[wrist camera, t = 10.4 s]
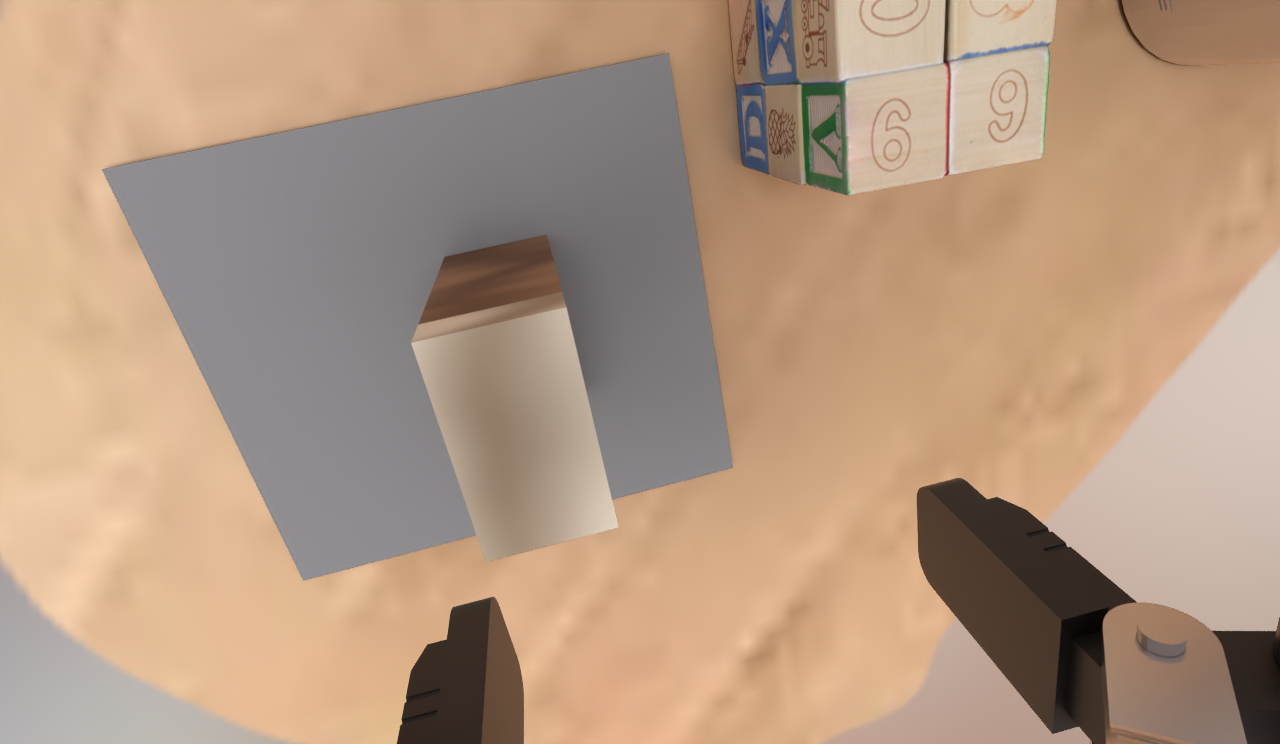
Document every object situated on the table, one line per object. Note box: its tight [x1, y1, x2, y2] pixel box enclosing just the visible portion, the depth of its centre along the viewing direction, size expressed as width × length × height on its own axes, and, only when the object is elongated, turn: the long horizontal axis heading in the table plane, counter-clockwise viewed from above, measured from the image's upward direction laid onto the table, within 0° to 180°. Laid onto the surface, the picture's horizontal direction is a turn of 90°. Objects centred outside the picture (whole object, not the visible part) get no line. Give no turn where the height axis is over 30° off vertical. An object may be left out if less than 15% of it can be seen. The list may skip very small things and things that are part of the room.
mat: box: [102, 53, 733, 581], centre depth 28 cm, size 20×18×1 cm
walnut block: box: [411, 234, 619, 562], centre depth 23 cm, size 4×7×10 cm, turn 10°
